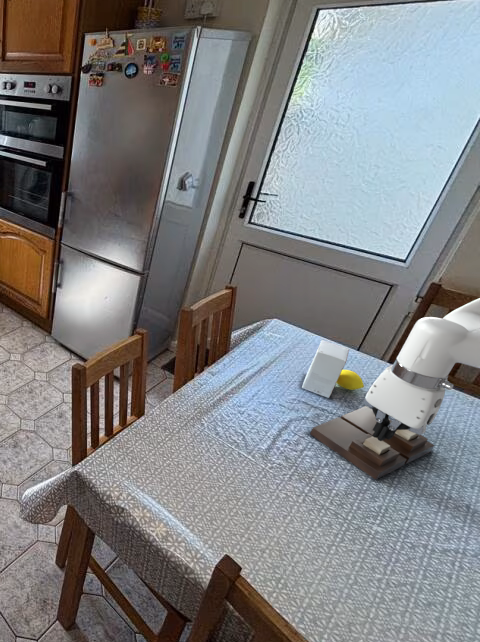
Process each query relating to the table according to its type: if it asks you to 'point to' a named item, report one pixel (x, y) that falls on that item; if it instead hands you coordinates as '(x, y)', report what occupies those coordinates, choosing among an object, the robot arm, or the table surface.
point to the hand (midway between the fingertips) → (380, 437)
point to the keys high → (357, 448)
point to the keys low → (407, 449)
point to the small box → (325, 368)
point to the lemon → (350, 380)
